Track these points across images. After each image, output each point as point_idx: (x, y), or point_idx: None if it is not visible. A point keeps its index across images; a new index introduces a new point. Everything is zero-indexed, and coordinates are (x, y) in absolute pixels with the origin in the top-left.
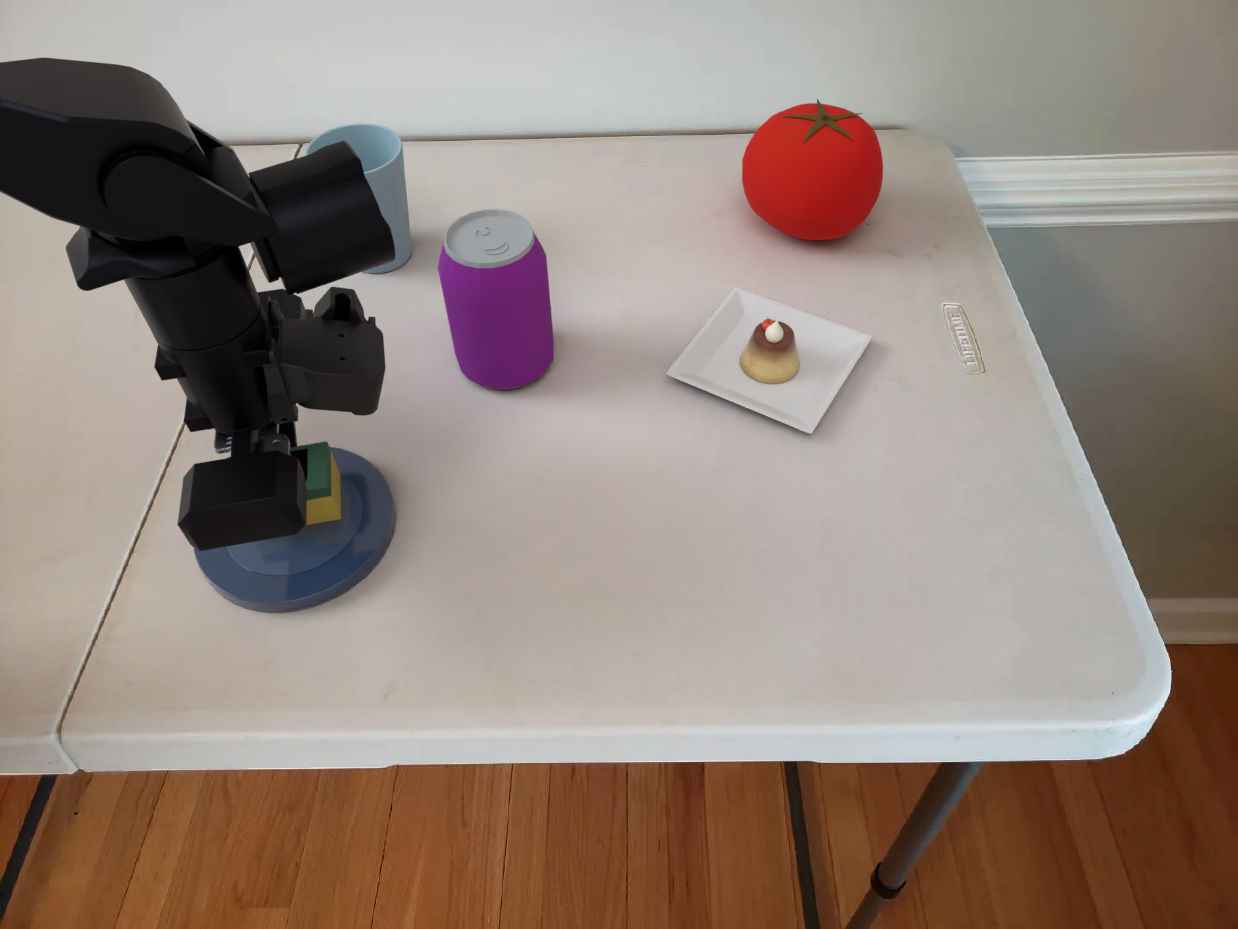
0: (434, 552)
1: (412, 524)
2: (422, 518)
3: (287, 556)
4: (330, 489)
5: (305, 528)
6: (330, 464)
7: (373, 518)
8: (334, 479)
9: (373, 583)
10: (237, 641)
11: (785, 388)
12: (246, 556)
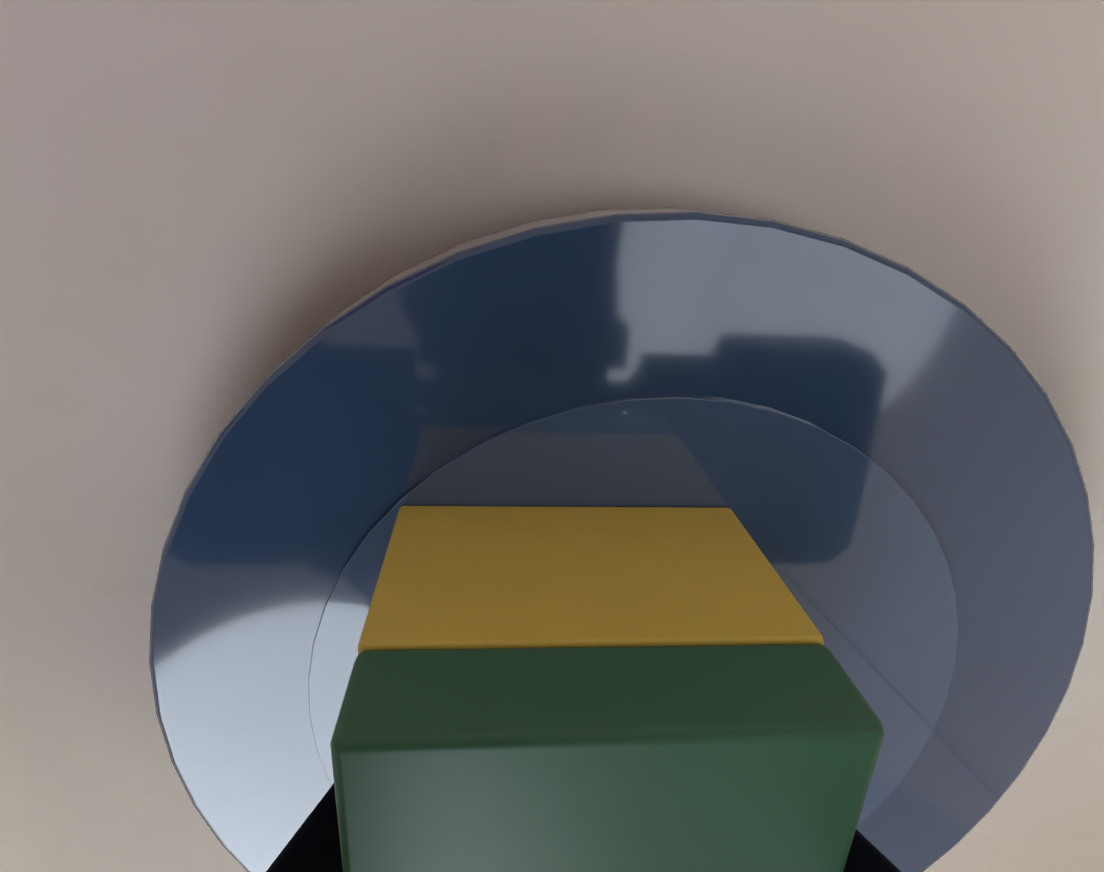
0: (1023, 8)
1: (782, 117)
2: (762, 47)
3: None
4: (821, 671)
5: None
6: (542, 666)
7: (782, 337)
8: (583, 590)
9: (1038, 358)
10: (1018, 796)
11: None
12: None
